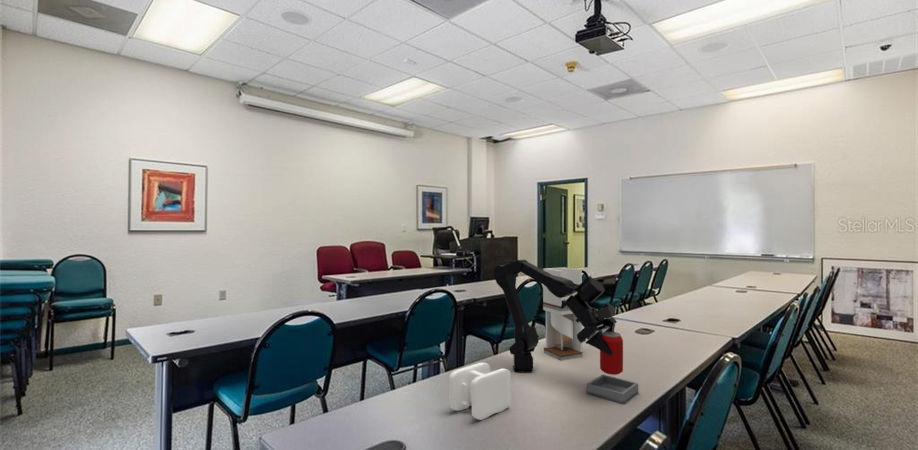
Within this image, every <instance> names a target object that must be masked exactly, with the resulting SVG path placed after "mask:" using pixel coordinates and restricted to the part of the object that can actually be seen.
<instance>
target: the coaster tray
mask: <svg viewBox="0 0 918 450" xmlns="http://www.w3.org/2000/svg"><path fill="white" fill-rule="evenodd" d="M585 385H586V390H585V391H586V395H589V396H594V397H596V398H600V399H604V400H607V401H611V402H614V403H618V404H621V405H624V404H626V403H627V402H628V401H630V400H632V398H634V397H635V396H637V394H639V382H634V381H632V380H631V381H630V380H627V379H623V378H619V377H618V378H617V377H614V376H612V375H608V374H607V375H606V374H601V375H599V376H597V377H595V378H594V379H593V380H591V381H589V382H587V383H586V384H585Z"/></svg>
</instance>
